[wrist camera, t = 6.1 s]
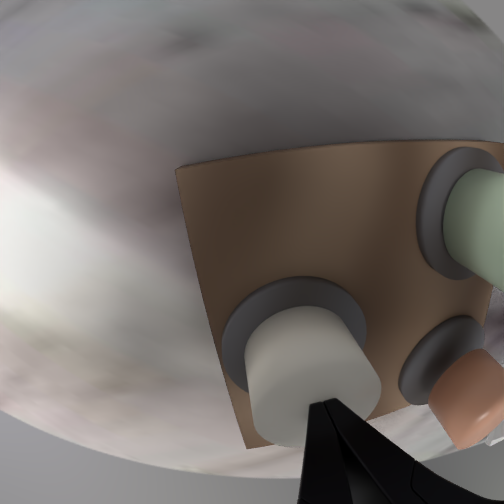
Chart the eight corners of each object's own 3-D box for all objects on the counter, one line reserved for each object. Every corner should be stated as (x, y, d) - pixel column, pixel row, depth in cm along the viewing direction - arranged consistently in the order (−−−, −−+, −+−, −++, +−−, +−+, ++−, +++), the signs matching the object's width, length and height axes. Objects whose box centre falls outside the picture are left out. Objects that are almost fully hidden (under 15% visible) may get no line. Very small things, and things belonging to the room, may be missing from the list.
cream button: (349, 295, 10) (388, 345, 8) (347, 376, 12) (373, 428, 9) (235, 318, 10) (242, 379, 7) (252, 397, 12) (262, 456, 9)
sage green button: (504, 167, 9) (557, 181, 6) (498, 254, 11) (543, 280, 8) (443, 170, 9) (504, 185, 6) (439, 273, 10) (487, 309, 8)
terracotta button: (496, 337, 11) (532, 371, 8) (475, 392, 12) (502, 425, 10) (438, 366, 11) (474, 410, 8) (420, 420, 12) (445, 460, 9)
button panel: (482, 140, 11) (512, 144, 9) (454, 365, 16) (470, 384, 14) (180, 166, 10) (172, 171, 8) (243, 428, 15) (247, 457, 13)
